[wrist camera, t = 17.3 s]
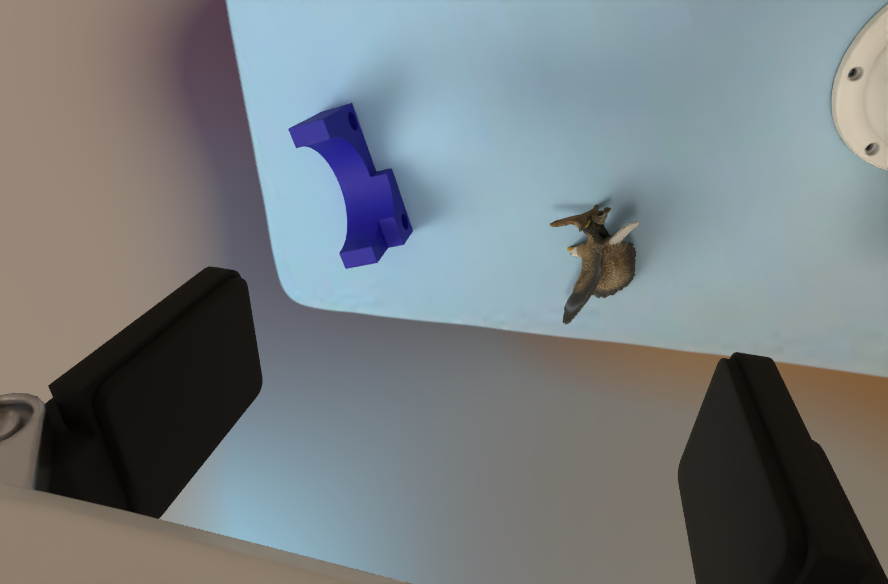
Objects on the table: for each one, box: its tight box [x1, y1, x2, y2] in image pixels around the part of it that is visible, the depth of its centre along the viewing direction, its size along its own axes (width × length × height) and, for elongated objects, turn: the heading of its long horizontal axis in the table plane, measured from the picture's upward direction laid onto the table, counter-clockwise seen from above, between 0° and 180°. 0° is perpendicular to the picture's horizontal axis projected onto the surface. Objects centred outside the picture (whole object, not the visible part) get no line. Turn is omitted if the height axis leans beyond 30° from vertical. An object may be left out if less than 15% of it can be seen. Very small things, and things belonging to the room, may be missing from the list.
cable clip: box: [289, 103, 413, 269], centre depth 45 cm, size 12×4×6 cm, turn 17°
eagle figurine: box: [550, 205, 639, 324], centre depth 44 cm, size 8×7×9 cm
